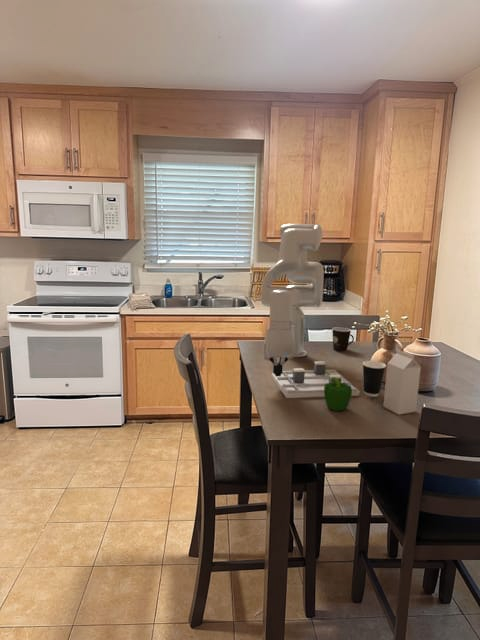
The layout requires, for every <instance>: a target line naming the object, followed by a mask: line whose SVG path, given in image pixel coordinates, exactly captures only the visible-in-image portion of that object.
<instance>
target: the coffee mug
mask: <svg viewBox="0 0 480 640" xmlns="http://www.w3.org/2000/svg"><path fill="white" fill-rule="evenodd" d="M331 329H332V349H333V351H336V352H339V353H341V352H347V351H348V346H350V345H351V344H353V342H354V340H355V337H354V336H353V335H352V334H351V331H352V330H351V328H348V327H336V326H335V327H332V328H331ZM350 337H351V338H352V340H351V342H350V341H349V340H350ZM349 342H350V343H349Z"/></svg>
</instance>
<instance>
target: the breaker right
mask: <svg viewBox="0 0 480 640" xmlns="http://www.w3.org/2000/svg"><path fill="white" fill-rule="evenodd" d="M340 375H341V374H340ZM340 375H329V383H330V382H335V383H336V381H335V380H332V379H331V378H332V377H336V378H337V379H338V380H339V383H341V376H340Z"/></svg>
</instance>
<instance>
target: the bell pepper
mask: <svg viewBox="0 0 480 640" xmlns="http://www.w3.org/2000/svg"><path fill="white" fill-rule="evenodd" d="M331 379H332V380H335V381H336V383H335V382H330V383H329V384H326V385H325V386H324V395H325V397H324V400H325V404H326V406H327V407H328V408H329V409H330V410H332V411H335V412H342V411H344V410H346V409H347V408H348V407H349V403H350V401H351V397H352V396H351V393H352V389H351V386H348V385H347V384H346V383H339V380H338V379H337V378H336V377H332V378H331Z"/></svg>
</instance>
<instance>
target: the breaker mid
mask: <svg viewBox="0 0 480 640" xmlns="http://www.w3.org/2000/svg"><path fill="white" fill-rule="evenodd" d="M292 371H293V382H294V383H302V382H304V375H305V369H304V368H303V367H301V368H300V367H298V368H297V367H296V368H295V367H293V368H292Z"/></svg>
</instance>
